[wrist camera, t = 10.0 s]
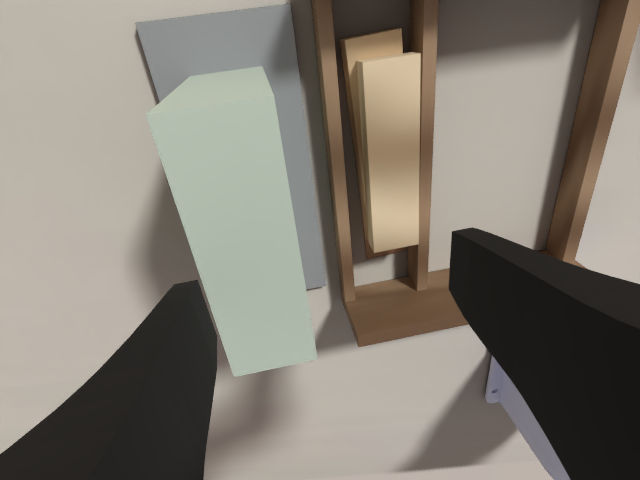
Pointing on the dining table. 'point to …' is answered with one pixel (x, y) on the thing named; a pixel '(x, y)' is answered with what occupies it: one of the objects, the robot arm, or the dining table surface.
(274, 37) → the grey rubber mat
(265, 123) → the sage plywood sheet
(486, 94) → the dining table surface
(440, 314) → the walnut rack
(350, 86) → the middle offcut
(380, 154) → the top offcut
